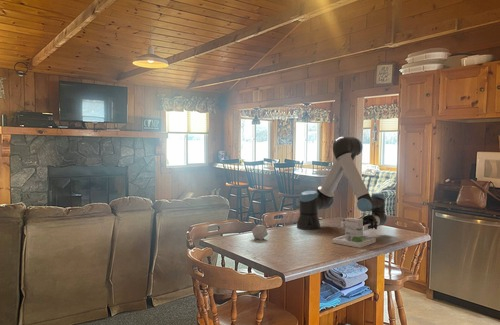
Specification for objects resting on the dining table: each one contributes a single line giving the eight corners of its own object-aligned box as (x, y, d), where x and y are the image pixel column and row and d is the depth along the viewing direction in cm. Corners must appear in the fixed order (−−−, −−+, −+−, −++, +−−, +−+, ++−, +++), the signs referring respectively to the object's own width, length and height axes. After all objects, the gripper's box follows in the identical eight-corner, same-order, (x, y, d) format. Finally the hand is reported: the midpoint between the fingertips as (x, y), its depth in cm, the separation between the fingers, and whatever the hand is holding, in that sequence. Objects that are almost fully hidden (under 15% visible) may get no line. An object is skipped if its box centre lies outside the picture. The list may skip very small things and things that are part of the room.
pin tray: (332, 242, 205) (332, 234, 205) (349, 237, 218) (349, 229, 218) (360, 247, 194) (360, 238, 194) (375, 242, 207) (375, 233, 207)
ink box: (363, 240, 205) (363, 219, 204) (358, 242, 201) (358, 220, 201) (349, 238, 211) (350, 216, 211) (344, 239, 208) (344, 217, 208)
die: (270, 240, 213) (267, 224, 218) (265, 235, 206) (262, 219, 211) (257, 244, 214) (254, 229, 220) (251, 240, 207) (248, 224, 213)
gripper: (391, 230, 211) (374, 236, 196) (350, 224, 228) (332, 229, 213) (391, 217, 211) (374, 222, 196) (351, 212, 228) (332, 216, 213)
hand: (352, 226), depth 204 cm, fingers open, 13 cm apart
